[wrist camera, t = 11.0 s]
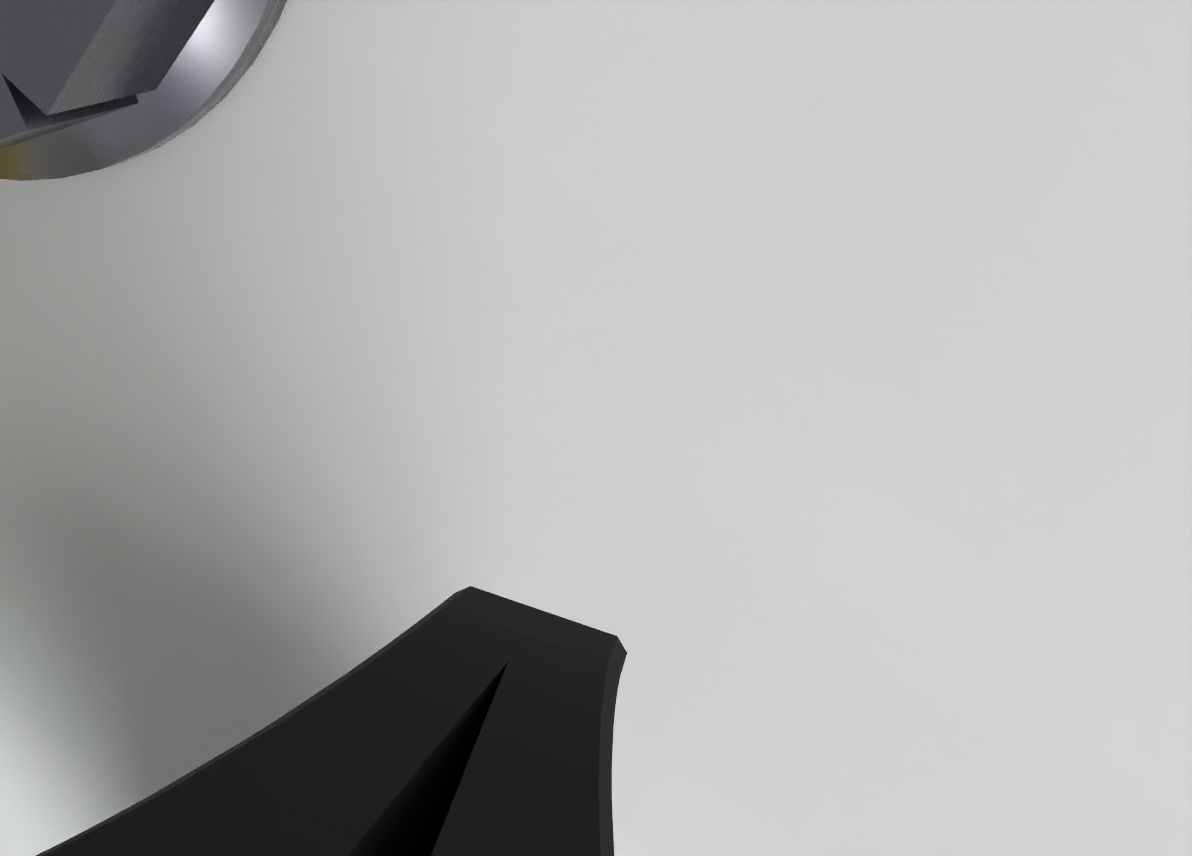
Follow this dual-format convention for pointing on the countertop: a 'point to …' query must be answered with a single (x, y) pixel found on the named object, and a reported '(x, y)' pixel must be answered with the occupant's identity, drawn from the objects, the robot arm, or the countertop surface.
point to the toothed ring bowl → (115, 76)
